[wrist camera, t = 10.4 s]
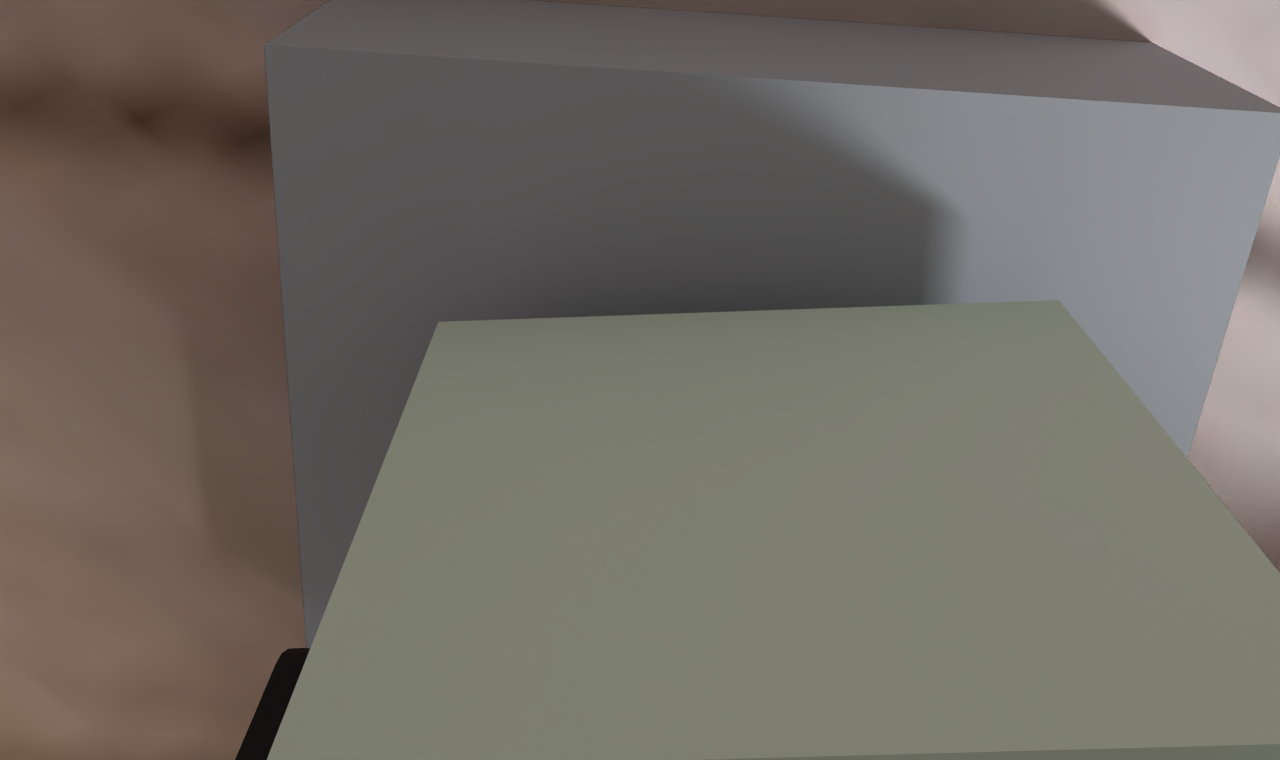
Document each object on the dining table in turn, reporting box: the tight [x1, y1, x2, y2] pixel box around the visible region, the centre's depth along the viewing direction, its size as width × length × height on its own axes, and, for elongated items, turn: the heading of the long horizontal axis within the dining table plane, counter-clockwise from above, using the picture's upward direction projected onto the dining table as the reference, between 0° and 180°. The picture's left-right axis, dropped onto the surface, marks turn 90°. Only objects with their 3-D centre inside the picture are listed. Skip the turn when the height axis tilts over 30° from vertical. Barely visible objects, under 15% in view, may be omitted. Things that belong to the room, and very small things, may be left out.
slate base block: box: [264, 0, 1280, 648], centre depth 16 cm, size 10×10×4 cm
